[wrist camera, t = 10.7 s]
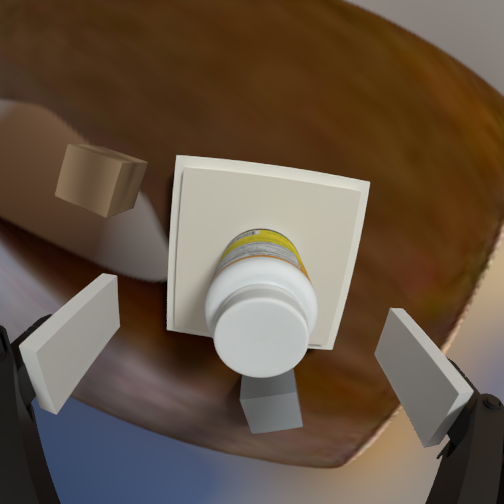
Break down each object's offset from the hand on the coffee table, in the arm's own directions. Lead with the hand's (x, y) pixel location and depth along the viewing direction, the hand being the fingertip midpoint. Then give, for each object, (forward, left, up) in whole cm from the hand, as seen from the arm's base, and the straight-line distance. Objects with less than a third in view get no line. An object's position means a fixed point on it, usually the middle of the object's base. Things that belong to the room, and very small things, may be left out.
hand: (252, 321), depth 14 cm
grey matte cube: (+3, -14, -12) cm, 19 cm away
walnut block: (-13, +5, -12) cm, 18 cm away
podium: (0, 0, -12) cm, 12 cm away
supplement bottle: (0, 0, -9) cm, 9 cm away
